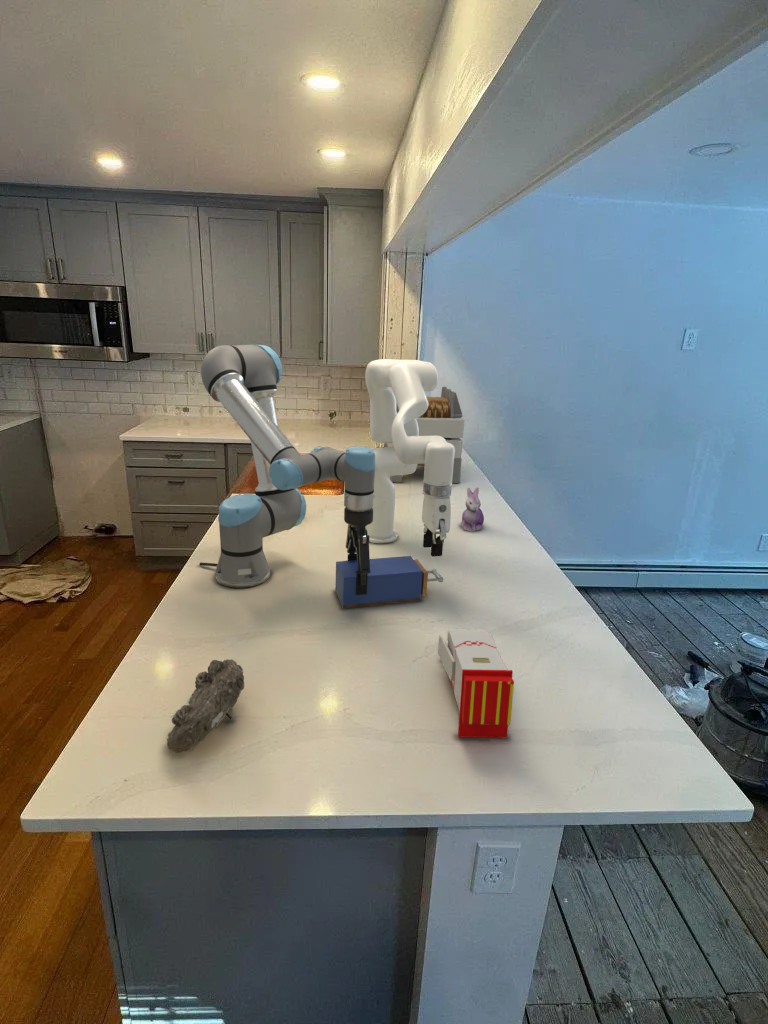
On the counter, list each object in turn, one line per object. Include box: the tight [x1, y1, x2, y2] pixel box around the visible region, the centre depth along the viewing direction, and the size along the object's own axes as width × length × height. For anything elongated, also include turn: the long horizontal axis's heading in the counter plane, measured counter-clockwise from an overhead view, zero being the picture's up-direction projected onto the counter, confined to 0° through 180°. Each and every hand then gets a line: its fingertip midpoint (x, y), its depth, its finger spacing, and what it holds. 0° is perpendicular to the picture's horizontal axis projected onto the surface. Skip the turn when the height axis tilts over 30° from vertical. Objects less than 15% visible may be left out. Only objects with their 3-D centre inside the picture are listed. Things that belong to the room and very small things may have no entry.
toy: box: [437, 628, 515, 738], centre depth 117 cm, size 12×13×30 cm
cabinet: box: [334, 555, 423, 610], centre depth 155 cm, size 22×10×9 cm, turn 106°
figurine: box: [460, 486, 485, 532], centre depth 206 cm, size 9×10×15 cm
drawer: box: [413, 558, 445, 597], centre depth 156 cm, size 26×9×7 cm, turn 106°
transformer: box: [383, 386, 465, 484], centre depth 268 cm, size 34×33×41 cm
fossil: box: [166, 658, 245, 754], centre depth 106 cm, size 22×10×15 cm
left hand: (356, 584), depth 153 cm, fingers closed on cabinet, 10 cm apart
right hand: (432, 550), depth 156 cm, fingers open, 5 cm apart
